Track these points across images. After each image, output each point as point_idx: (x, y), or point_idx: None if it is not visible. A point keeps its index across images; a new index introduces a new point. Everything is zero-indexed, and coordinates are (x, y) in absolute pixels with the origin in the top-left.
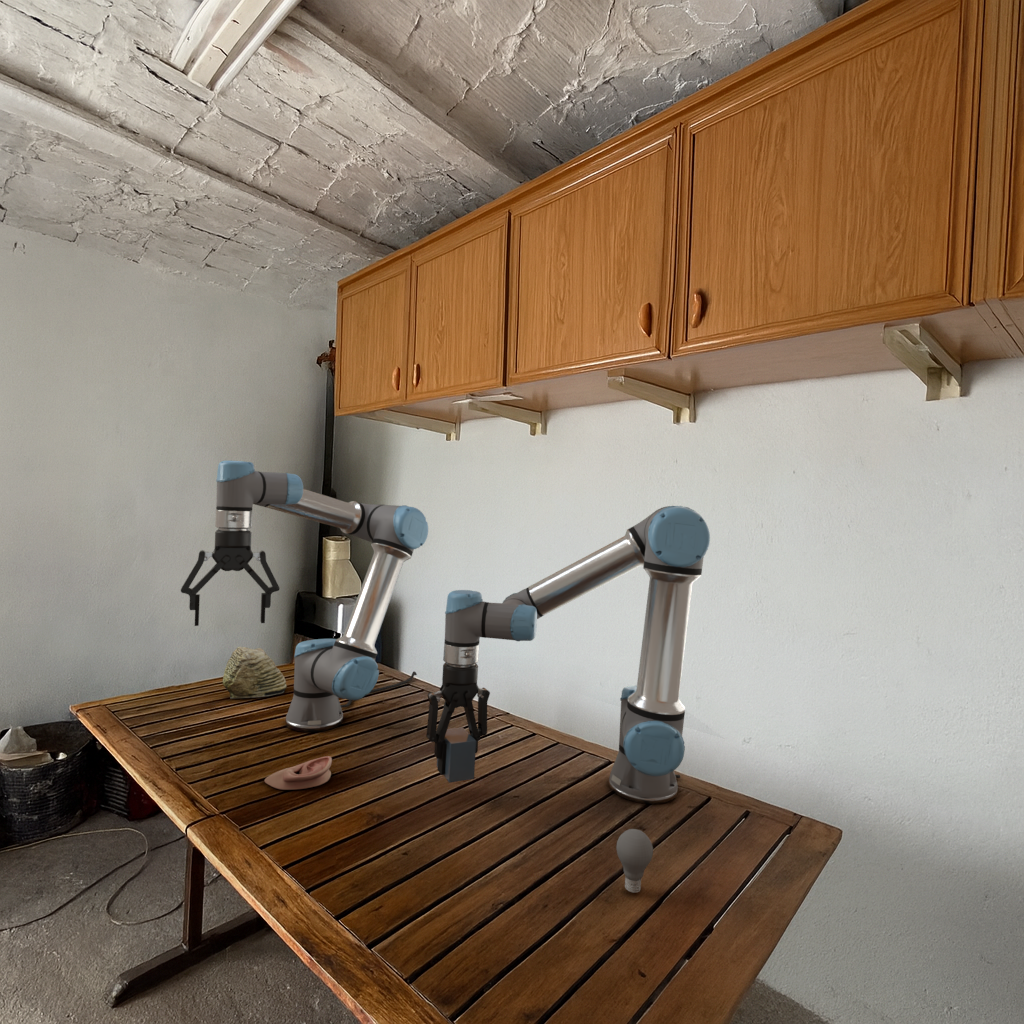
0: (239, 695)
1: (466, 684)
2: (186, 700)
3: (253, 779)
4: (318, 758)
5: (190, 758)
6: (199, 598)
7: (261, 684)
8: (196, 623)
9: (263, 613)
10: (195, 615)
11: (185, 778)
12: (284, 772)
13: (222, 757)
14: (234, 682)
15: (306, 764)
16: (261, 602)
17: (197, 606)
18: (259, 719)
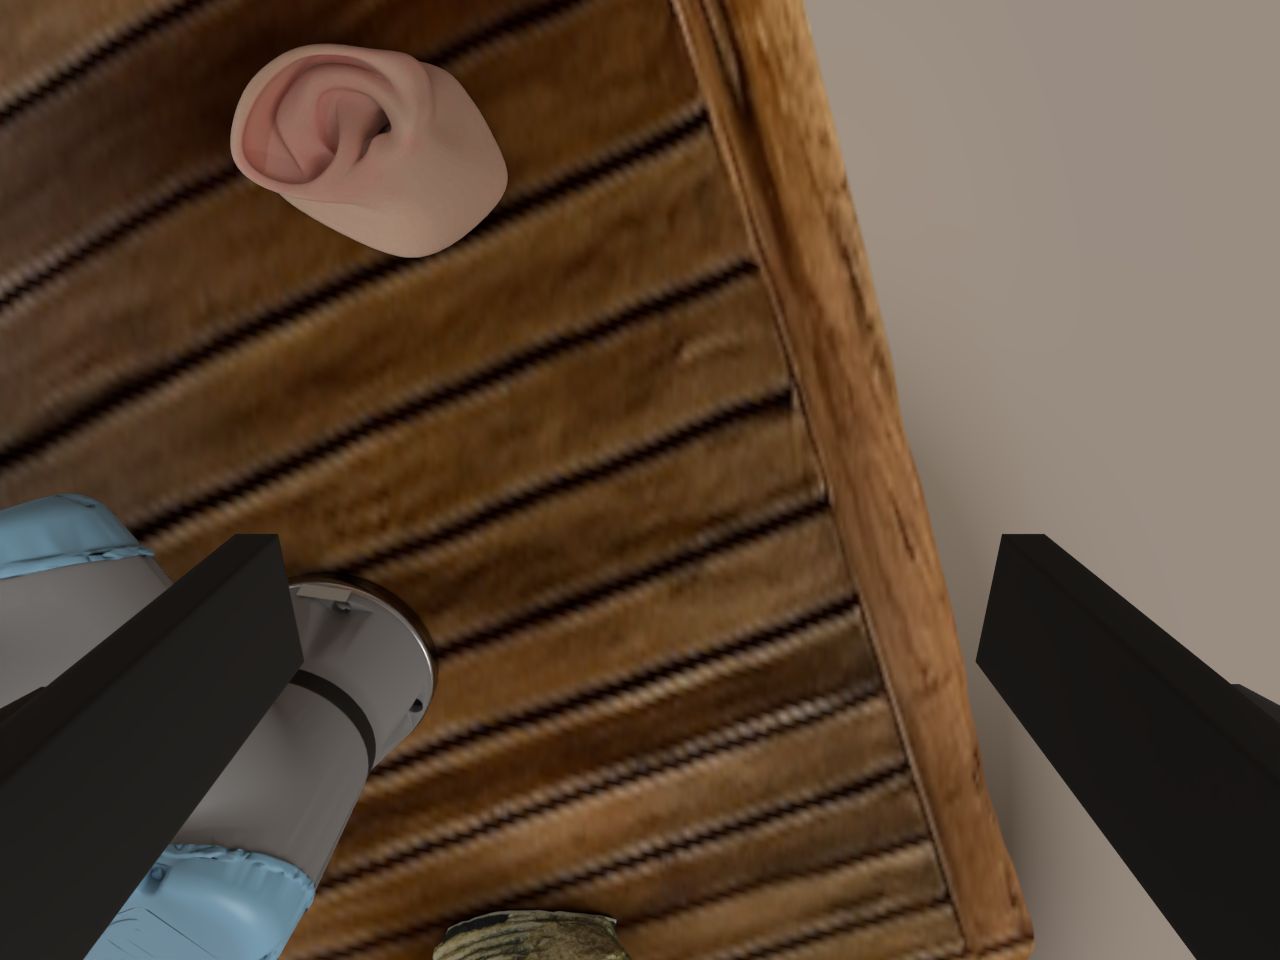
0: (587, 922)
1: None
2: (744, 936)
3: (546, 221)
4: (289, 187)
5: (745, 476)
6: (1229, 898)
7: (512, 952)
8: (1039, 549)
9: (176, 596)
10: (1122, 601)
11: (765, 311)
12: (424, 109)
13: (646, 451)
14: (601, 958)
15: (339, 157)
16: (126, 800)
17: (1200, 686)
18: (525, 735)
